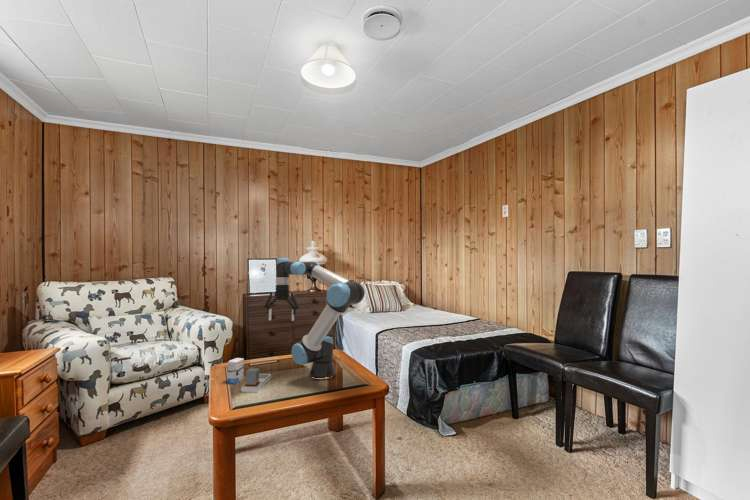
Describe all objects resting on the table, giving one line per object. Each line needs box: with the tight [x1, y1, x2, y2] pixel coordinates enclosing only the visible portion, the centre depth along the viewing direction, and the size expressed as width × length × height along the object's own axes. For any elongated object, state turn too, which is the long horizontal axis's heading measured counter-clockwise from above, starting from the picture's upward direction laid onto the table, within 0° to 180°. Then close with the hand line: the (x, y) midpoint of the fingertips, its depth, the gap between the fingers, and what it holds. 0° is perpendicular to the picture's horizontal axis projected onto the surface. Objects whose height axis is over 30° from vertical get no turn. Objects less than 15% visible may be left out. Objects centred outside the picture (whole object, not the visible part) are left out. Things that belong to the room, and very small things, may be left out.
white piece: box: [240, 373, 272, 393], centre depth 194 cm, size 8×22×3 cm, turn 177°
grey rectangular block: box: [245, 367, 260, 386], centre depth 188 cm, size 5×5×10 cm
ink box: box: [226, 357, 245, 385], centre depth 200 cm, size 8×5×12 cm, turn 168°
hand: (281, 320), depth 213 cm, fingers open, 13 cm apart
